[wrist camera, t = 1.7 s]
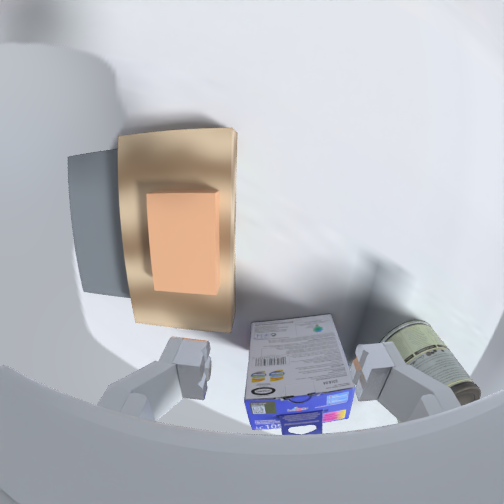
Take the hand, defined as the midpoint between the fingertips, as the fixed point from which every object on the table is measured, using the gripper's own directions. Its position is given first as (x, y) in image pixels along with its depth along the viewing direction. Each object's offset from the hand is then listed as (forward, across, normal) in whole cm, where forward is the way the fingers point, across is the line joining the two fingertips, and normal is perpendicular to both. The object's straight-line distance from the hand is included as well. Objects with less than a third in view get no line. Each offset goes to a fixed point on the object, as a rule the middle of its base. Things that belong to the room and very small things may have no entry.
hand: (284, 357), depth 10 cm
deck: (+19, +10, 0) cm, 22 cm away
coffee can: (+20, -20, +16) cm, 32 cm away
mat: (+19, +20, 0) cm, 28 cm away
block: (+15, +8, 0) cm, 17 cm away
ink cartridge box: (+20, -3, +13) cm, 24 cm away
